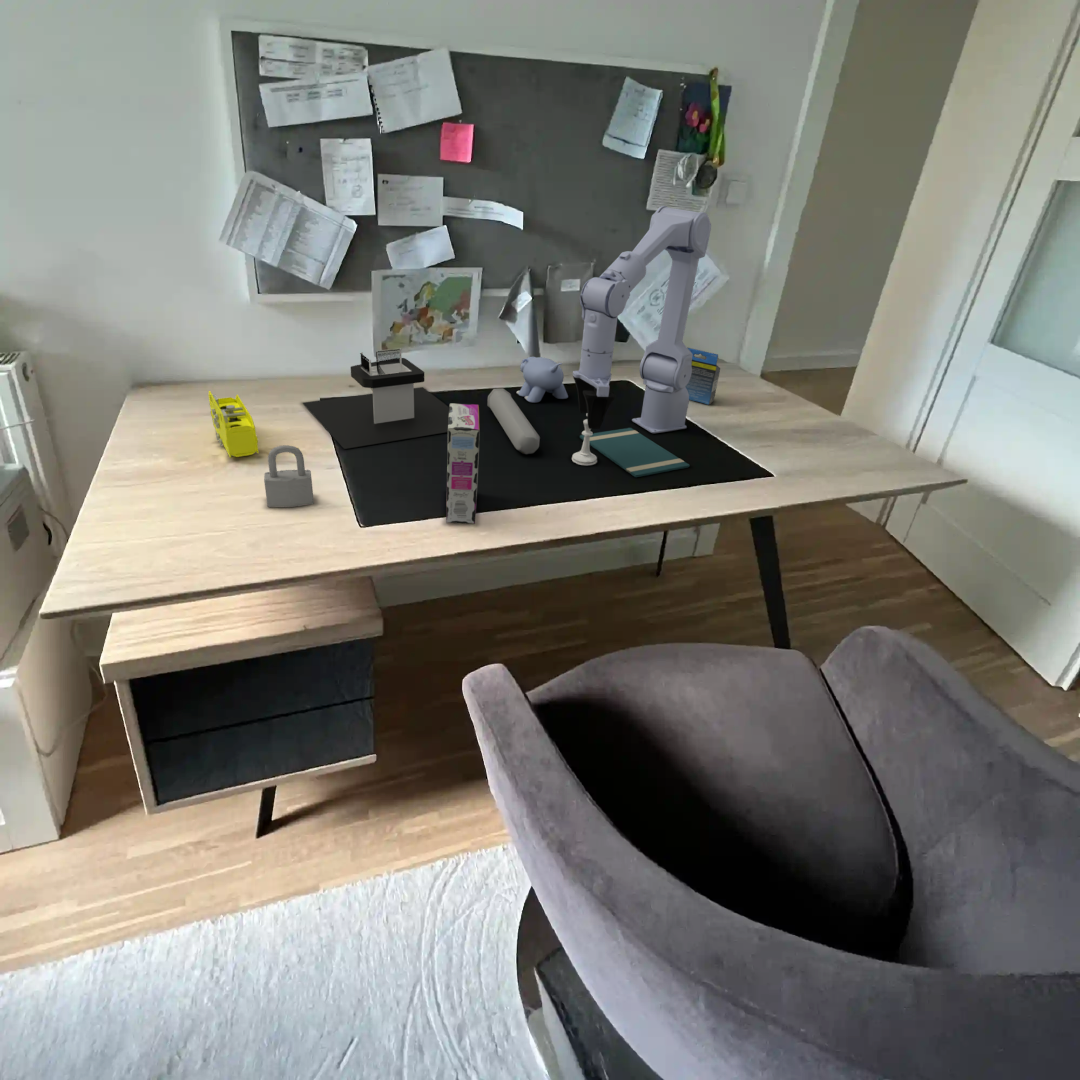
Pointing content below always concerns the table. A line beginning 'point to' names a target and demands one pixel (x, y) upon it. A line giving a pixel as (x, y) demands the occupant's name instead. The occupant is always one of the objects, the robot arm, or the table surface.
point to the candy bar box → (462, 463)
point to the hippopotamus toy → (541, 379)
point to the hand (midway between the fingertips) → (589, 420)
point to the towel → (635, 452)
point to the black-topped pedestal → (383, 405)
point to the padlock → (288, 481)
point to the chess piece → (585, 449)
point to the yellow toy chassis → (233, 426)
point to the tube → (513, 421)
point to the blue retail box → (703, 377)
